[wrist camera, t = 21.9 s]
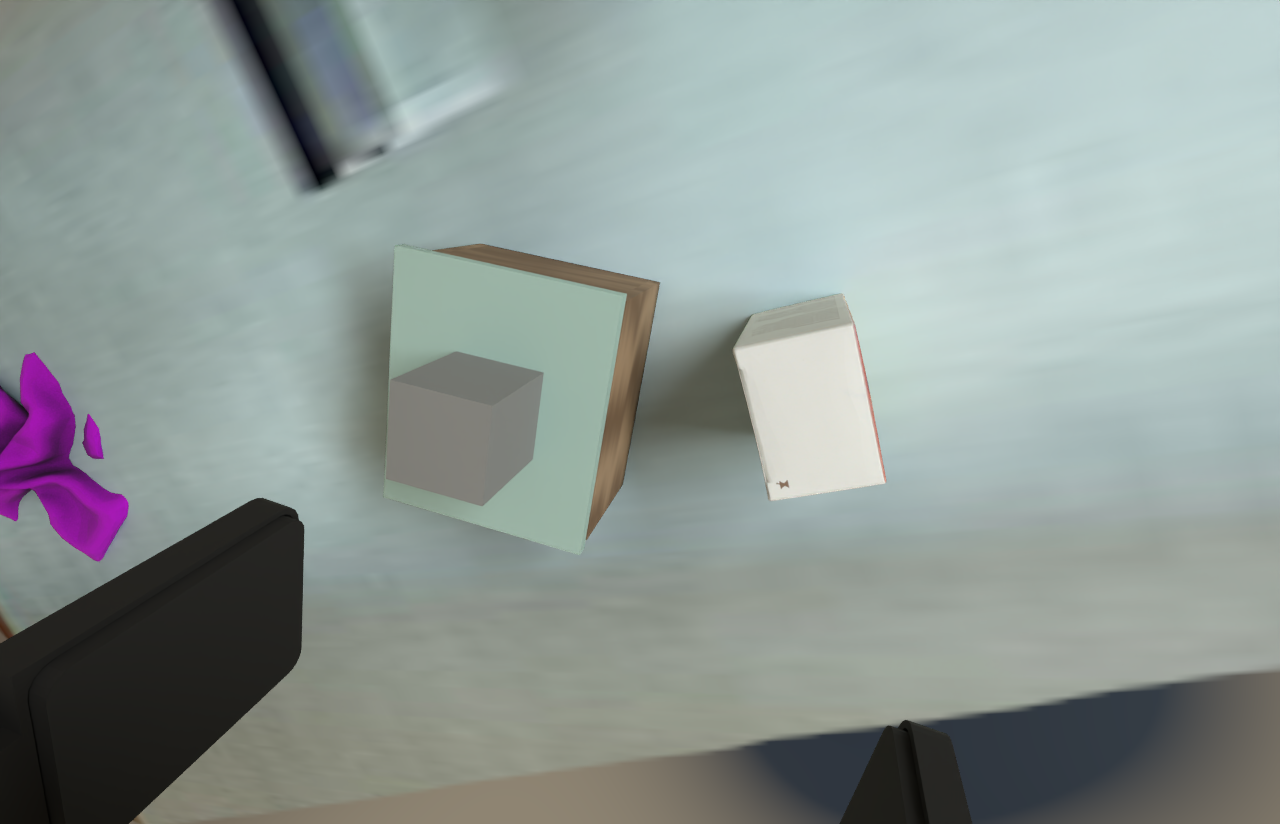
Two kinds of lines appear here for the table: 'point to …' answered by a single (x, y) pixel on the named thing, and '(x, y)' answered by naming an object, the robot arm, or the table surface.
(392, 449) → the block
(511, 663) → the table surface
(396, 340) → the lid
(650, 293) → the brown wooden open box
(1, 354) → the table surface
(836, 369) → the small box
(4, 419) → the cloth
